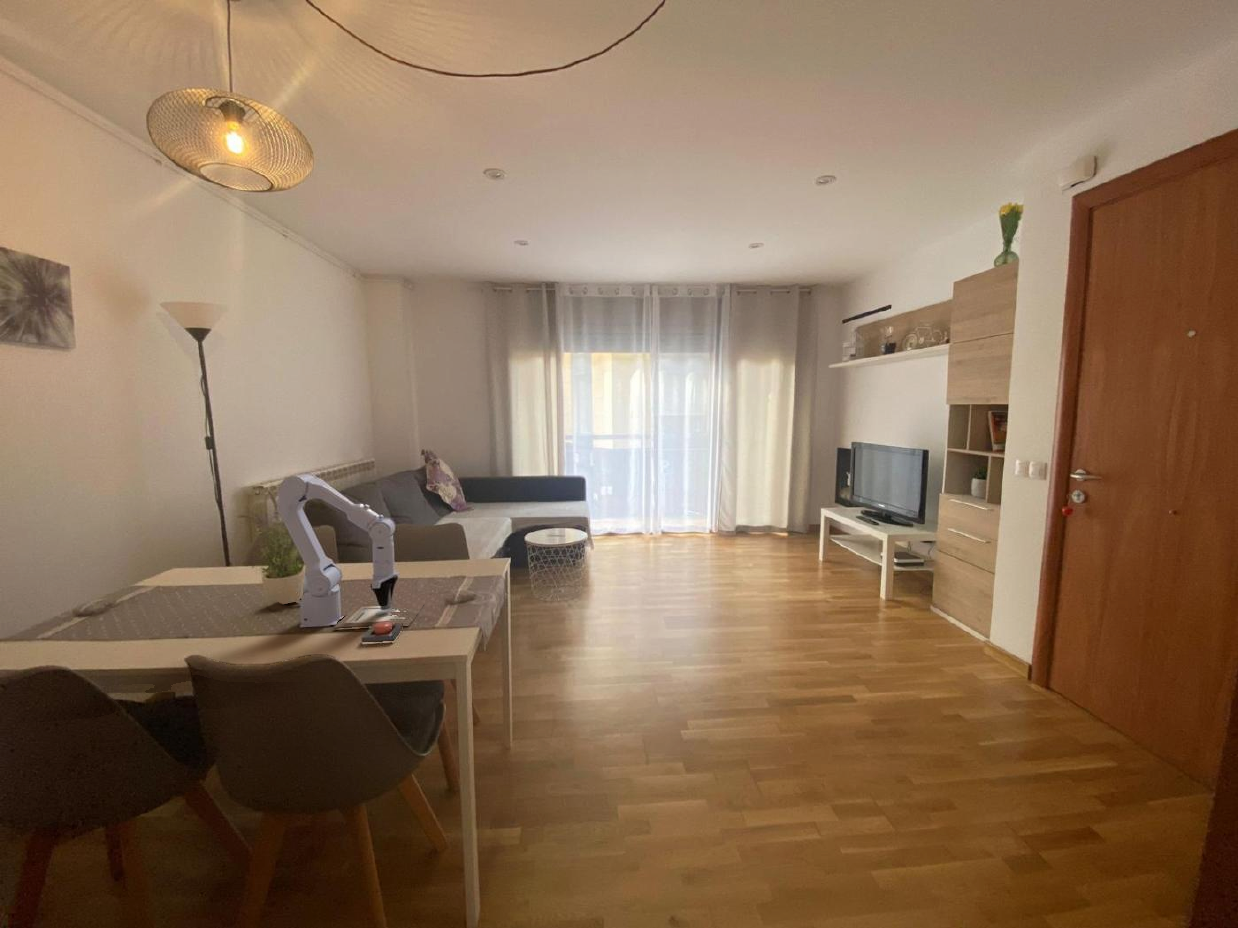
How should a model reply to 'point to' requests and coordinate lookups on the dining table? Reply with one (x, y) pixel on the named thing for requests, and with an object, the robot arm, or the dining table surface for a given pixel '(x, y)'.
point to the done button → (383, 628)
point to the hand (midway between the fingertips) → (385, 603)
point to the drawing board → (366, 617)
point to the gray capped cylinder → (388, 603)
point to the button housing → (371, 637)
